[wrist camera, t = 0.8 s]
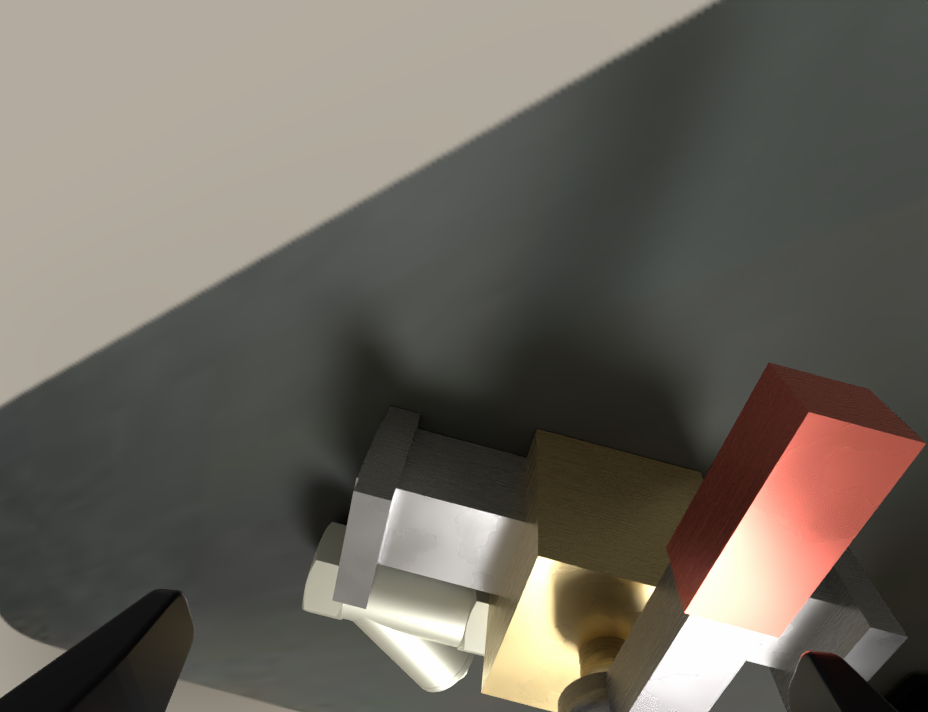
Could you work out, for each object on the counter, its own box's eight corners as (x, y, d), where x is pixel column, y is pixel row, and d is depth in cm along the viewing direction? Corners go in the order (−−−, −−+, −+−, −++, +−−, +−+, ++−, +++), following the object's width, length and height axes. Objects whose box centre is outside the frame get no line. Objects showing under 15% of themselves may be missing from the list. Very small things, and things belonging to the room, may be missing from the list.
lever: (649, 754, 17) (661, 827, 15) (543, 727, 17) (544, 796, 15) (898, 397, 11) (961, 452, 9) (738, 354, 11) (774, 403, 9)
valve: (847, 511, 22) (1000, 725, 15) (767, 620, 25) (862, 844, 17) (388, 389, 22) (316, 545, 14) (362, 514, 24) (291, 695, 17)
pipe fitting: (480, 639, 28) (517, 550, 25) (471, 722, 25) (511, 633, 21) (323, 598, 28) (336, 503, 25) (292, 677, 25) (302, 580, 21)
